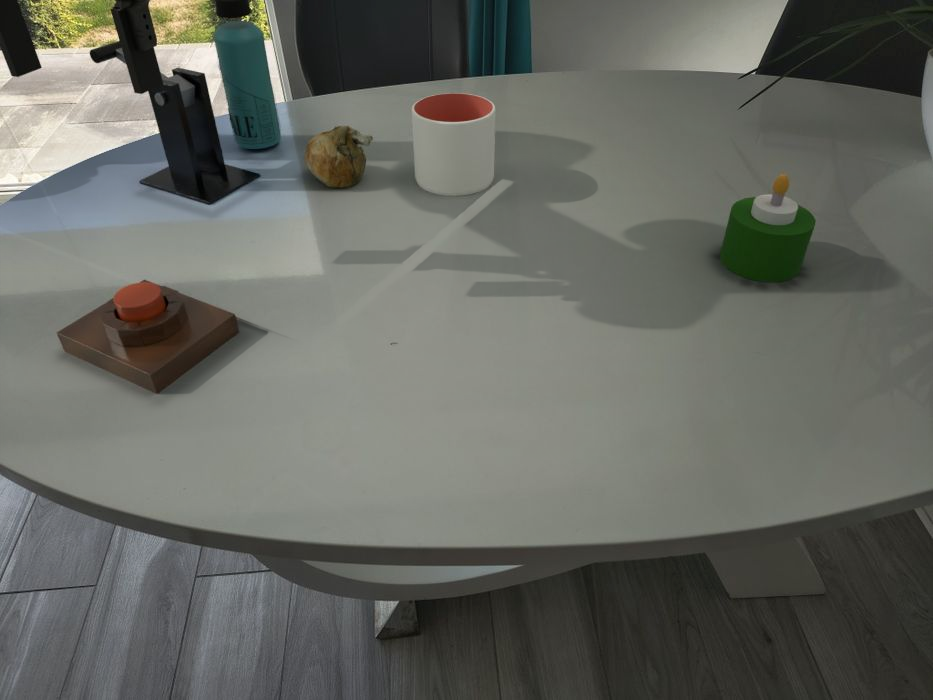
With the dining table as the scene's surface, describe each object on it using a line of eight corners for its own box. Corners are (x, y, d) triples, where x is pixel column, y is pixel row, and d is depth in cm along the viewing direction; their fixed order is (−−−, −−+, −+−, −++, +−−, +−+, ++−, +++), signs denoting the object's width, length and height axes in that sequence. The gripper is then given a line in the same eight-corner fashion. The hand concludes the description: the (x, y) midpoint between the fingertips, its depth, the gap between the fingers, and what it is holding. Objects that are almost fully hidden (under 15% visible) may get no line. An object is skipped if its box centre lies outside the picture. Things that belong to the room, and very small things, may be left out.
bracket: (141, 189, 93) (107, 79, 84) (194, 163, 99) (168, 57, 90) (211, 211, 88) (183, 97, 79) (262, 182, 94) (241, 73, 86)
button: (109, 315, 65) (103, 299, 64) (144, 293, 68) (139, 277, 67) (140, 328, 64) (134, 312, 63) (175, 305, 66) (170, 289, 65)
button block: (64, 351, 67) (48, 316, 64) (150, 297, 74) (139, 263, 71) (157, 394, 62) (144, 358, 60) (239, 332, 69) (231, 297, 67)
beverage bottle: (287, 140, 105) (262, -12, 92) (280, 159, 100) (253, 1, 87) (240, 141, 104) (209, -11, 92) (232, 161, 99) (197, 2, 87)
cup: (444, 210, 88) (442, 129, 82) (400, 180, 94) (395, 104, 88) (509, 188, 93) (512, 110, 86) (463, 161, 99) (462, 87, 93)
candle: (785, 291, 74) (814, 201, 68) (707, 264, 78) (728, 178, 72) (810, 257, 79) (839, 170, 73) (736, 234, 83) (758, 150, 77)
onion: (352, 165, 98) (346, 106, 93) (380, 188, 93) (375, 127, 88) (299, 179, 95) (290, 119, 90) (324, 203, 90) (316, 140, 85)
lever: (90, 62, 86) (88, 43, 85) (130, 49, 90) (130, 30, 89) (168, 114, 85) (168, 96, 83) (206, 98, 89) (207, 81, 87)
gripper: (-193, -228, 52) (-56, 78, 65) (85, -235, 44) (175, 111, 57) (-95, -228, 57) (13, 54, 70) (166, -234, 50) (231, 81, 63)
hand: (86, 80), depth 64 cm, fingers open, 13 cm apart
